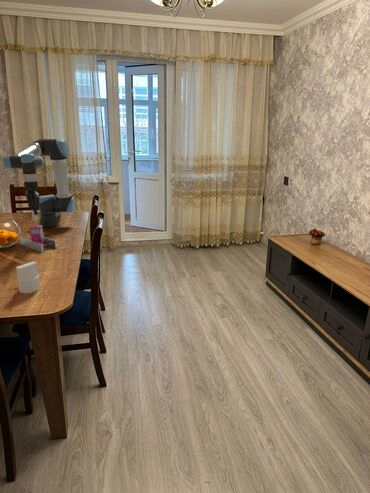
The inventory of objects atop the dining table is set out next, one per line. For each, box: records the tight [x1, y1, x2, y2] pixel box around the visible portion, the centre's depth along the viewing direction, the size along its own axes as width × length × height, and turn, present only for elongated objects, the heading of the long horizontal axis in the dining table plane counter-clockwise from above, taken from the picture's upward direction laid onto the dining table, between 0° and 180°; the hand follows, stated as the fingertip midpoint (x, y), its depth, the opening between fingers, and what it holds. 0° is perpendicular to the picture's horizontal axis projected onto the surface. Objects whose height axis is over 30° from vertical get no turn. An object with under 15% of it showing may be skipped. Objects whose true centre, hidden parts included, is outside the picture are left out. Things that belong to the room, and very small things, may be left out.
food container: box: [56, 212, 62, 221], centre depth 285 cm, size 12×6×10 cm, turn 71°
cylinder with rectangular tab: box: [15, 261, 41, 294], centre depth 157 cm, size 9×9×12 cm
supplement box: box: [29, 224, 45, 244], centre depth 212 cm, size 6×6×12 cm
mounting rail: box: [19, 236, 59, 253], centre depth 213 cm, size 24×12×6 cm, turn 53°
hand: (35, 220), depth 209 cm, fingers closed
